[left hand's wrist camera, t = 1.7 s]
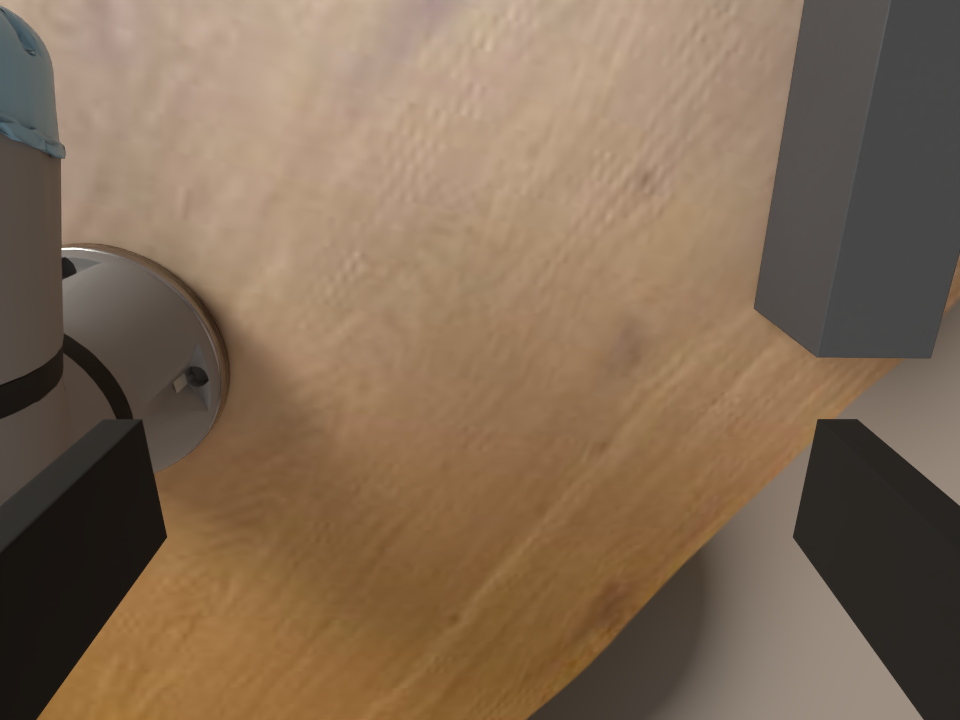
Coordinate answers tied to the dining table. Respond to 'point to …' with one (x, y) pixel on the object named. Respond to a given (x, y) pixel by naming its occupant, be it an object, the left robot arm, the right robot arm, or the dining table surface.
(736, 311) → the dining table surface
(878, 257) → the bar
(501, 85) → the dining table surface
